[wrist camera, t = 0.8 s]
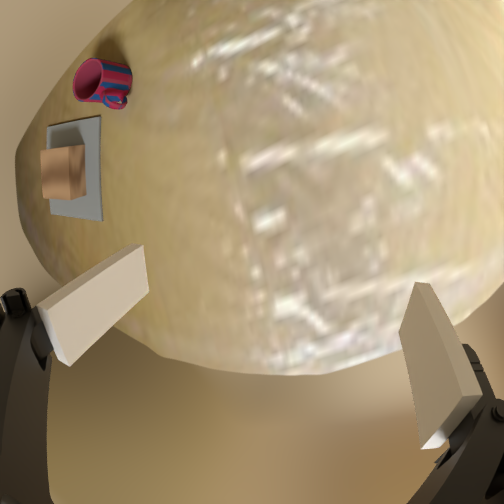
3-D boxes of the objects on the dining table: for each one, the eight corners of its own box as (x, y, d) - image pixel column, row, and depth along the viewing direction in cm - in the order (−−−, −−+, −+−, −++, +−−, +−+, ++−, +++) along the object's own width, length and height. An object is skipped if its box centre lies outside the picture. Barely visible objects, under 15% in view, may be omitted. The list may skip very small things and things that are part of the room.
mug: (122, 56, 33) (93, 49, 27) (148, 97, 35) (119, 93, 29) (96, 84, 36) (67, 81, 30) (119, 126, 38) (89, 127, 32)
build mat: (48, 127, 41) (47, 127, 41) (101, 116, 38) (99, 116, 37) (52, 213, 48) (51, 214, 48) (103, 220, 45) (101, 221, 44)
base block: (56, 147, 42) (40, 150, 38) (85, 144, 40) (68, 146, 36) (58, 193, 45) (43, 198, 42) (86, 195, 43) (70, 200, 40)
